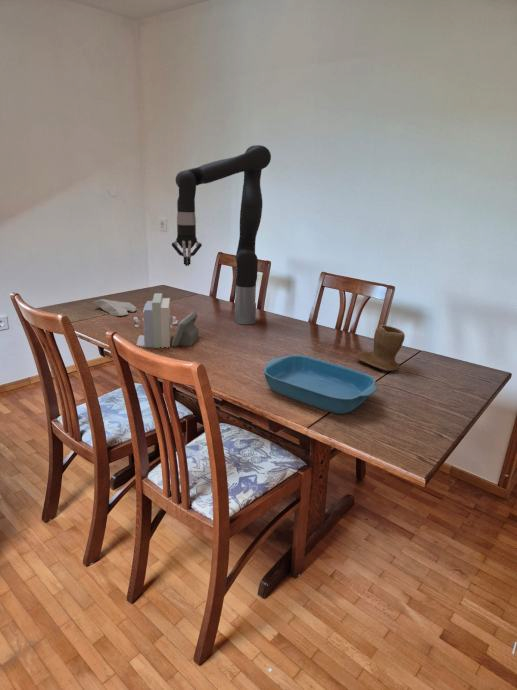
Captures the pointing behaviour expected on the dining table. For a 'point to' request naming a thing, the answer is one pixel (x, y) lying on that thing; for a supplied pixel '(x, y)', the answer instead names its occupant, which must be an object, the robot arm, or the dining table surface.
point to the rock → (115, 307)
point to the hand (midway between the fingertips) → (187, 265)
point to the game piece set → (142, 319)
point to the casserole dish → (319, 383)
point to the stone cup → (384, 348)
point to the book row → (156, 323)
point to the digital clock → (186, 331)
